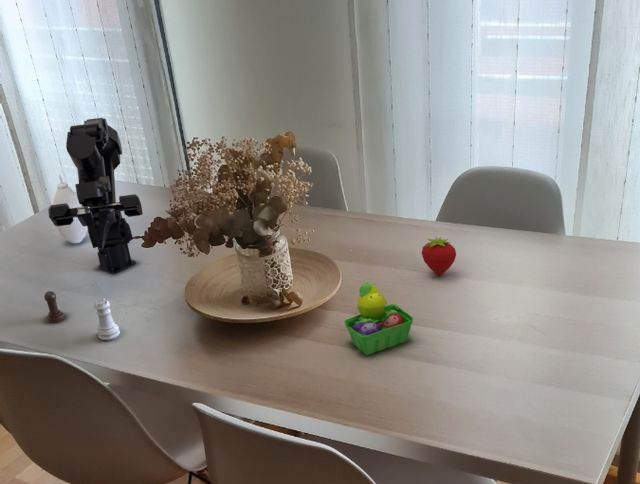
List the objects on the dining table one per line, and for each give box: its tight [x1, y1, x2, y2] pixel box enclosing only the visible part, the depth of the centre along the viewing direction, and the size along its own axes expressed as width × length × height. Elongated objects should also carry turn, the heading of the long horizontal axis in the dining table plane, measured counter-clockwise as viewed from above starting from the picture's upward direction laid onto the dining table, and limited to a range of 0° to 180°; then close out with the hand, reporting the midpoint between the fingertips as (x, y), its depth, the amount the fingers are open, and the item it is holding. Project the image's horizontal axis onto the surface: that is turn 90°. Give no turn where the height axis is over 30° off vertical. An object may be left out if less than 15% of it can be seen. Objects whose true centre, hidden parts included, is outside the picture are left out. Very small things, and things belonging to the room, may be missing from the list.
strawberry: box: [421, 236, 457, 277], centre depth 183 cm, size 6×8×10 cm
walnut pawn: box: [43, 290, 65, 324], centre depth 182 cm, size 3×3×6 cm
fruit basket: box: [343, 282, 414, 356], centre depth 161 cm, size 11×9×11 cm
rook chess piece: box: [93, 297, 121, 342], centre depth 173 cm, size 4×4×8 cm
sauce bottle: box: [52, 173, 88, 244], centre depth 213 cm, size 8×8×18 cm
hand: (100, 248), depth 181 cm, fingers closed
